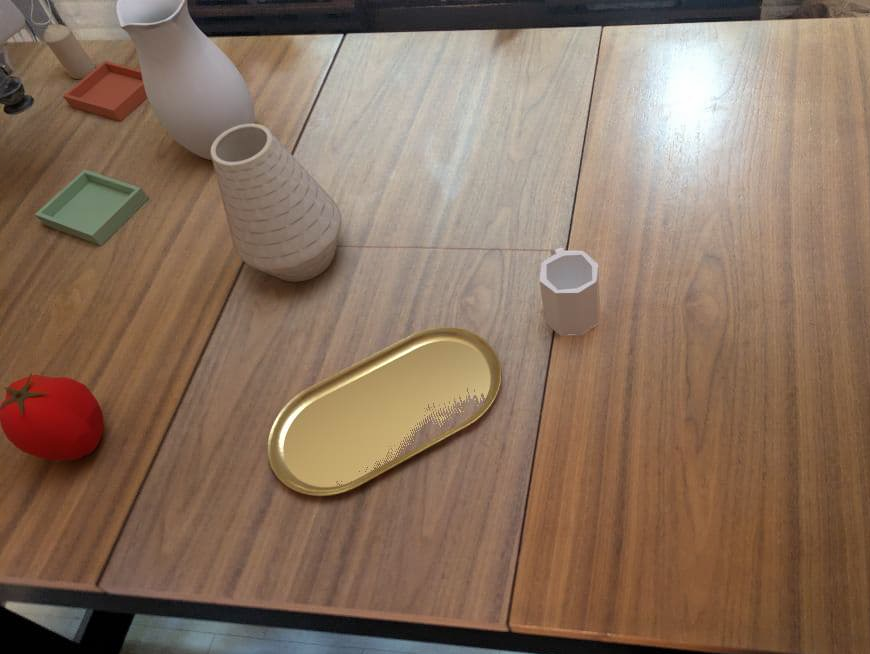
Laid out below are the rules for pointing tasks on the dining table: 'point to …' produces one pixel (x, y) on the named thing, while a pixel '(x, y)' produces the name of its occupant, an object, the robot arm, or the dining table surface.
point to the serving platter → (379, 409)
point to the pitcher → (185, 74)
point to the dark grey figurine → (13, 95)
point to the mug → (570, 292)
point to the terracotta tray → (108, 91)
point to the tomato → (51, 417)
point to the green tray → (92, 207)
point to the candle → (68, 51)
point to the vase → (274, 205)
